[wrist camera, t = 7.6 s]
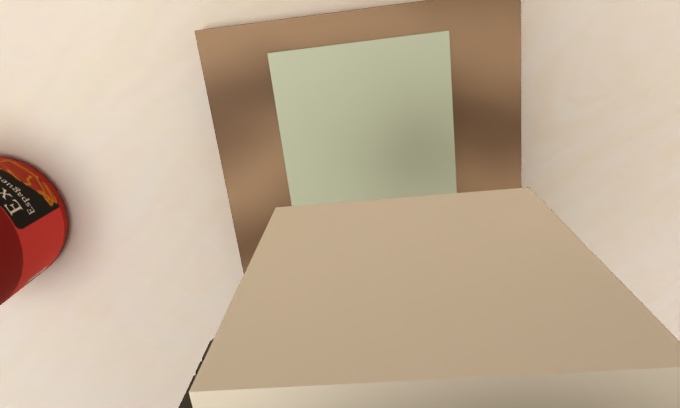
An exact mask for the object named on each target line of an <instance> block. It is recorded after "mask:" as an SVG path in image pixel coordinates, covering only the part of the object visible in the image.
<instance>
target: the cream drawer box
mask: <svg viewBox="0 0 680 408" xmlns="http://www.w3.org/2000/svg"><path fill="white" fill-rule="evenodd" d="M189 395H190V399H191V403H192V407H193V408H680V341H679V340H678V339H677V338H676V337H675V336H674V335H673V334H672V333H671V332H670V331H669V330H668V329H667V328H666V327H665V326H664V325H663V324H662V323H661V322H660V321H659V320H658V319H657V318H656V317H655V316H654V315H653V314H652V313H651V312H650V311H649V310H648V309H647V308H646V306H645V305H644V304H643V303H642V302H641V301H640V300H639V299H638V298H637V297H636V296H635V295H634V294H633V293H632V292H631V291H630V290H629V289H628V288H627V287H626V286H625V285H624V284H623V283H622V282H621V281H620V280H619V279H618V278H617V277H616V276H615V275H614V274H613V273H612V272H611V271H610V270H609V269H608V267H607V266H606V265H605V264H604V263H603V262H602V261H601V260H600V259H599V258H598V257H597V256H596V255H595V254H594V253H593V252H592V251H591V250H590V249H589V248H588V247H587V246H586V245H585V244H584V243H583V242H582V241H581V240H580V239H579V238H578V237H577V236H576V235H575V234H574V233H573V232H572V231H571V229H570V228H569V227H568V226H567V225H566V224H565V223H564V222H563V221H562V220H561V219H560V218H559V217H558V216H557V215H556V214H555V213H554V212H553V211H552V210H551V209H550V208H549V207H548V206H547V205H546V204H545V203H544V202H543V201H542V200H541V199H540V198H539V197H538V196H537V195H536V194H535V193H534V192H533V190H532V189H531V188H530V187H527V188H515V189H502V190H489V191H477V192H464V193H452V194H439V195H426V196H414V197H401V198H388V199H376V200H363V201H350V202H338V203H325V204H313V205H300V206H287V207H276V208H275V210H274V212H273V214H272V217H271V219H270V221H269V223H268V225H267V227H266V229H265V231H264V233H263V236H262V238H261V240H260V242H259V244H258V246H257V248H256V250H255V253H254V255H253V257H252V259H251V261H250V263H249V265H248V267H247V270H246V272H245V274H244V276H243V278H242V280H241V282H240V284H239V286H238V289H237V291H236V293H235V295H234V297H233V299H232V301H231V303H230V306H229V308H228V310H227V312H226V314H225V316H224V318H223V320H222V323H221V325H220V327H219V329H218V331H217V333H216V335H215V337H214V339H213V342H212V344H211V346H210V348H209V350H208V352H207V354H206V356H205V359H204V361H203V363H202V365H201V367H200V369H199V371H198V373H197V376H196V378H195V380H194V382H193V384H192V386H191V388H190V390H189Z"/></svg>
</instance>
